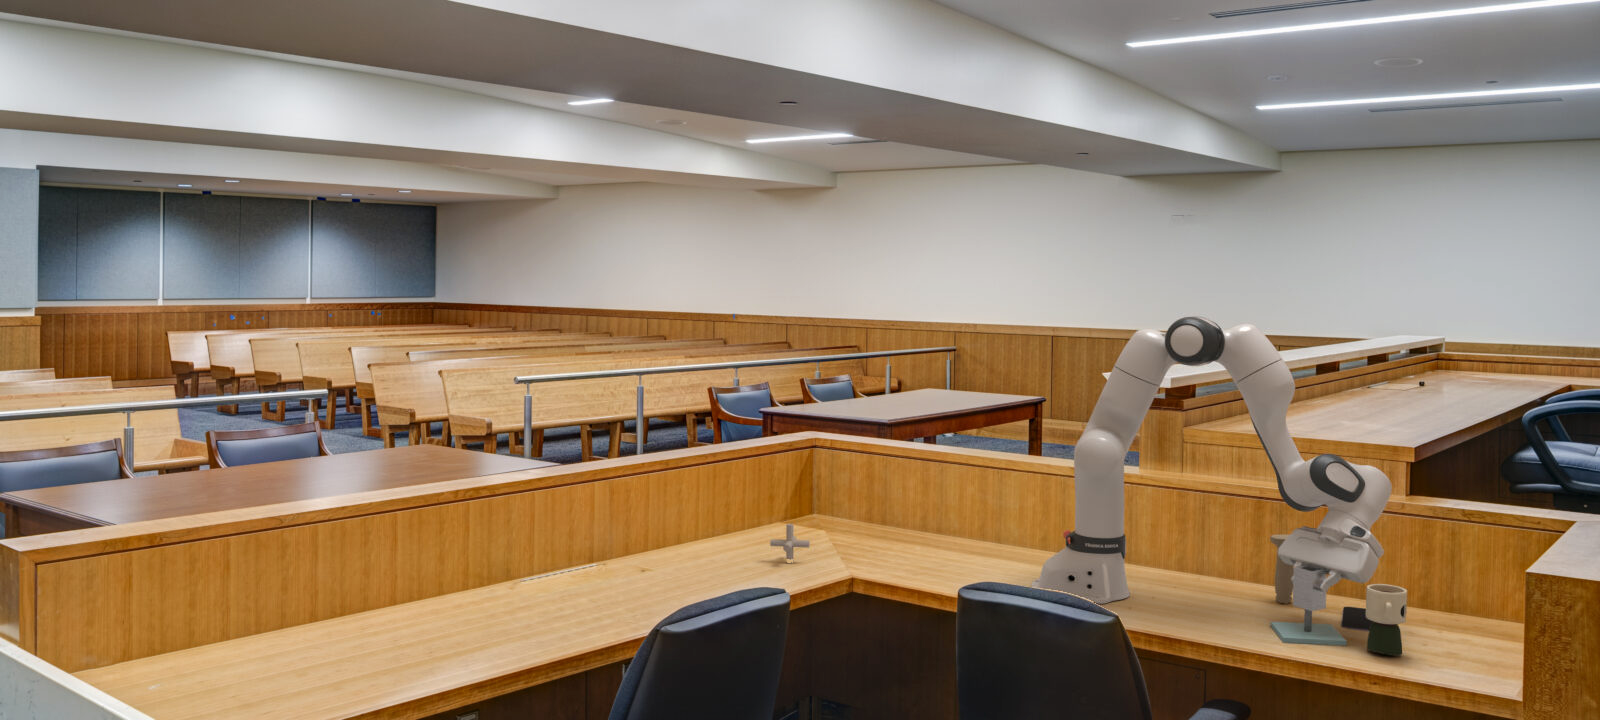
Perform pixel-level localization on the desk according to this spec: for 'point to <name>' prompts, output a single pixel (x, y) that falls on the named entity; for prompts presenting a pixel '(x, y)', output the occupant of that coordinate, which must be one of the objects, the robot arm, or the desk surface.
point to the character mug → (1385, 617)
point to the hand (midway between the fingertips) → (1307, 586)
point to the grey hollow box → (1308, 588)
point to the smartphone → (1355, 619)
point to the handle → (1282, 574)
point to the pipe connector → (789, 542)
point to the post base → (1308, 632)
